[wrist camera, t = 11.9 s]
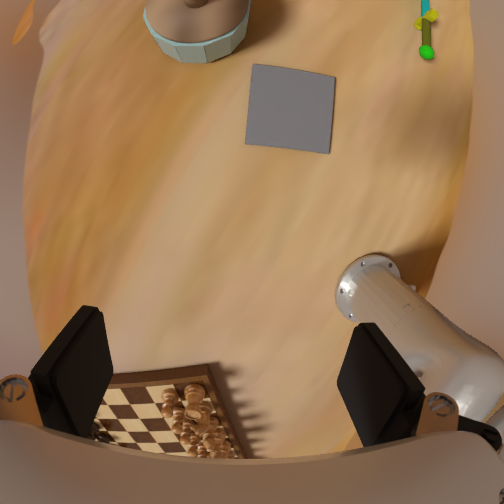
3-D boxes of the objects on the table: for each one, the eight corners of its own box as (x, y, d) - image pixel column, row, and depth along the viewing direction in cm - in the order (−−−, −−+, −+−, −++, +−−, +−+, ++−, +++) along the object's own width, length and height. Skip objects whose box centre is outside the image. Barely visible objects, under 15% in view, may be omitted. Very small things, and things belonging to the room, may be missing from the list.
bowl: (249, -2, 31) (254, -29, 23) (241, 67, 35) (245, 48, 27) (165, -3, 29) (155, -29, 22) (151, 65, 33) (136, 48, 26)
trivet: (333, 78, 36) (334, 77, 36) (327, 154, 40) (328, 154, 39) (252, 65, 35) (252, 63, 34) (245, 144, 39) (245, 144, 38)
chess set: (207, 361, 50) (204, 423, 36) (249, 462, 64) (254, 506, 50) (46, 374, 50) (20, 417, 36) (120, 466, 63) (112, 504, 49)
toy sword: (431, 47, 28) (421, -45, 24) (410, 60, 34) (408, -32, 30) (444, 56, 28) (432, -38, 24) (422, 67, 34) (418, -26, 30)
